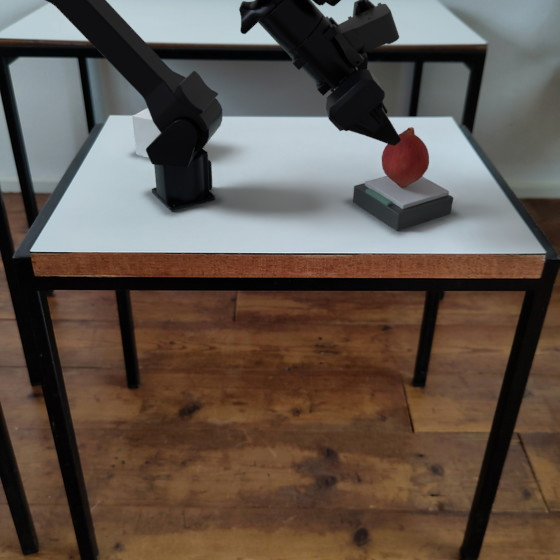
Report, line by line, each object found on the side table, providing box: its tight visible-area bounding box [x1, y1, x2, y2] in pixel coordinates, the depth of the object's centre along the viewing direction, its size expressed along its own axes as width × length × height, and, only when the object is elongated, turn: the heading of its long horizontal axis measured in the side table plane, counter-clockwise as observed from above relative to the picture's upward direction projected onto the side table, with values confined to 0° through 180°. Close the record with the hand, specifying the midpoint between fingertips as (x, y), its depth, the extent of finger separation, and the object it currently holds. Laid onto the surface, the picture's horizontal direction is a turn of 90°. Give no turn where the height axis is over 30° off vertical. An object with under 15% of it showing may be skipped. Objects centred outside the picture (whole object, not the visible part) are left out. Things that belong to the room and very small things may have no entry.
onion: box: [381, 126, 430, 188], centre depth 86 cm, size 6×6×8 cm
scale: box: [352, 175, 454, 232], centre depth 89 cm, size 9×9×3 cm
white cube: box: [131, 107, 161, 158], centre depth 102 cm, size 6×6×6 cm
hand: (390, 127), depth 84 cm, fingers open, 9 cm apart
